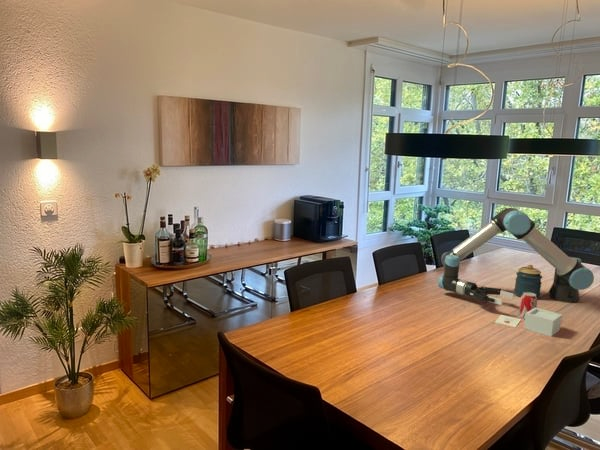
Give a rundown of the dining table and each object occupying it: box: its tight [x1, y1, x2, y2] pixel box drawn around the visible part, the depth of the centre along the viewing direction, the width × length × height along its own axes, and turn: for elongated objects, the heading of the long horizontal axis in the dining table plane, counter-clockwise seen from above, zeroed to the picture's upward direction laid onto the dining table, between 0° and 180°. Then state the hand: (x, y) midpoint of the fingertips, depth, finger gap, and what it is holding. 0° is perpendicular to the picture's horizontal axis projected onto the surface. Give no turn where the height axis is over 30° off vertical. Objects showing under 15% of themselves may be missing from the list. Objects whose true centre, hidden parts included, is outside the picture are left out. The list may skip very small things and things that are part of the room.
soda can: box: [518, 292, 538, 320], centre depth 220 cm, size 7×7×12 cm
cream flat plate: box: [494, 314, 522, 328], centre depth 216 cm, size 12×9×1 cm
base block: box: [523, 306, 563, 337], centre depth 207 cm, size 12×12×7 cm
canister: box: [513, 264, 543, 300], centre depth 253 cm, size 13×13×18 cm
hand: (507, 299), depth 227 cm, fingers open, 13 cm apart
